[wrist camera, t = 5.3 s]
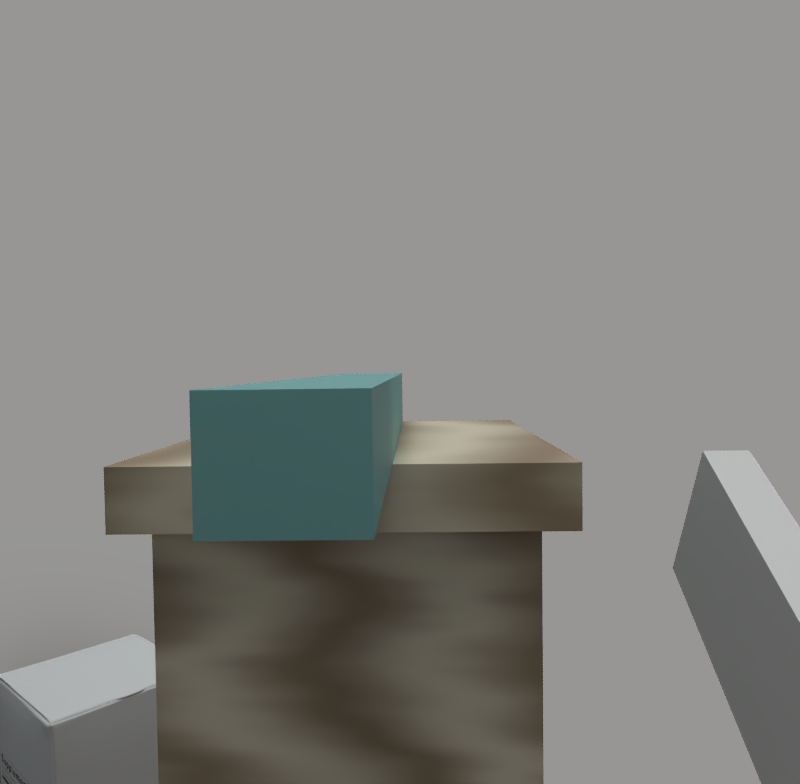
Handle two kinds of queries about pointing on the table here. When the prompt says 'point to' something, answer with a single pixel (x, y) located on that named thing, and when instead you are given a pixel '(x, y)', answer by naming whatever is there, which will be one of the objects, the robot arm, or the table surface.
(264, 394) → the teal slat
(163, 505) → the tall wooden pillar
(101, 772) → the supplement box
